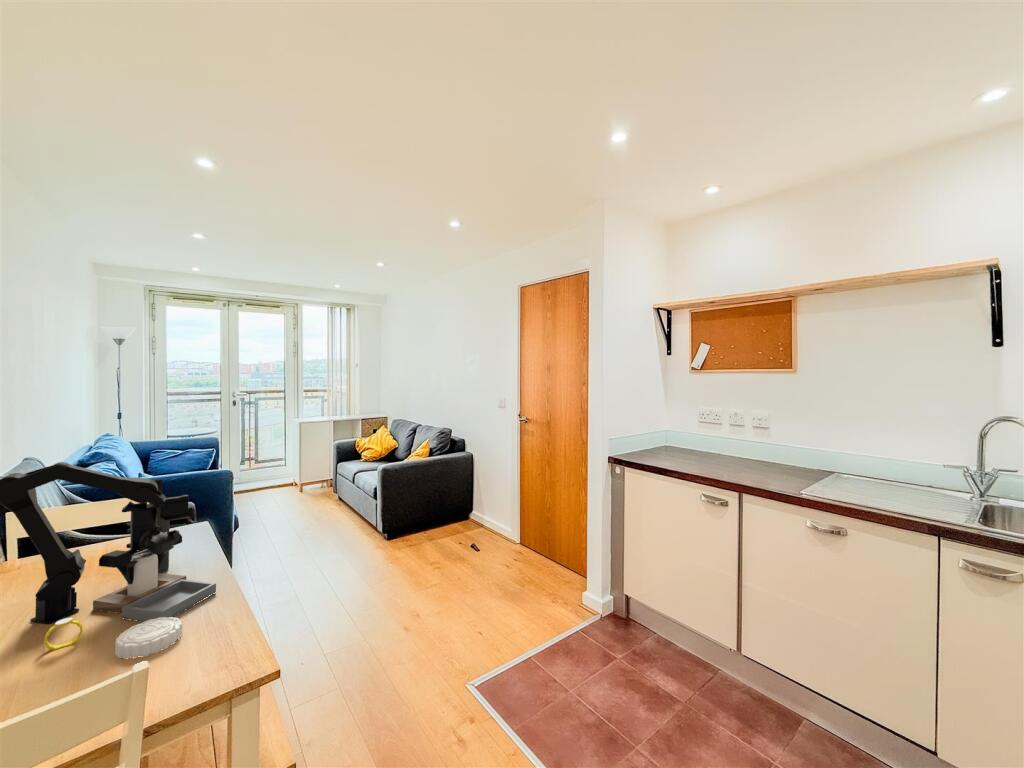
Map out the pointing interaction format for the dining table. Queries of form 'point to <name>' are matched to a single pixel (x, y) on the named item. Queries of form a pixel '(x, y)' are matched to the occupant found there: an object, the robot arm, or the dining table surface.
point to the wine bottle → (164, 527)
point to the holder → (121, 598)
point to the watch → (61, 624)
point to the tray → (168, 600)
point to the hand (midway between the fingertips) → (143, 578)
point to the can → (144, 574)
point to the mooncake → (148, 637)
